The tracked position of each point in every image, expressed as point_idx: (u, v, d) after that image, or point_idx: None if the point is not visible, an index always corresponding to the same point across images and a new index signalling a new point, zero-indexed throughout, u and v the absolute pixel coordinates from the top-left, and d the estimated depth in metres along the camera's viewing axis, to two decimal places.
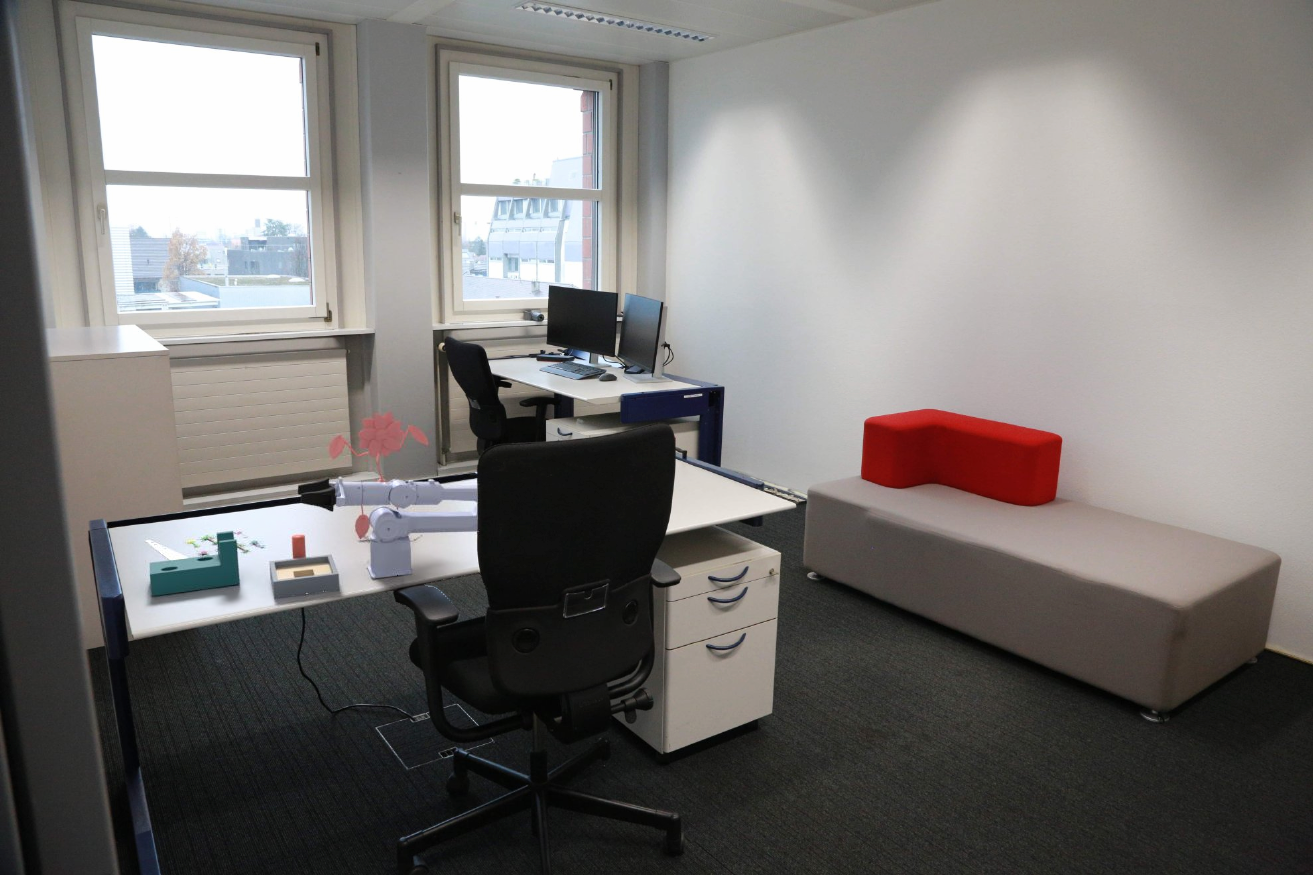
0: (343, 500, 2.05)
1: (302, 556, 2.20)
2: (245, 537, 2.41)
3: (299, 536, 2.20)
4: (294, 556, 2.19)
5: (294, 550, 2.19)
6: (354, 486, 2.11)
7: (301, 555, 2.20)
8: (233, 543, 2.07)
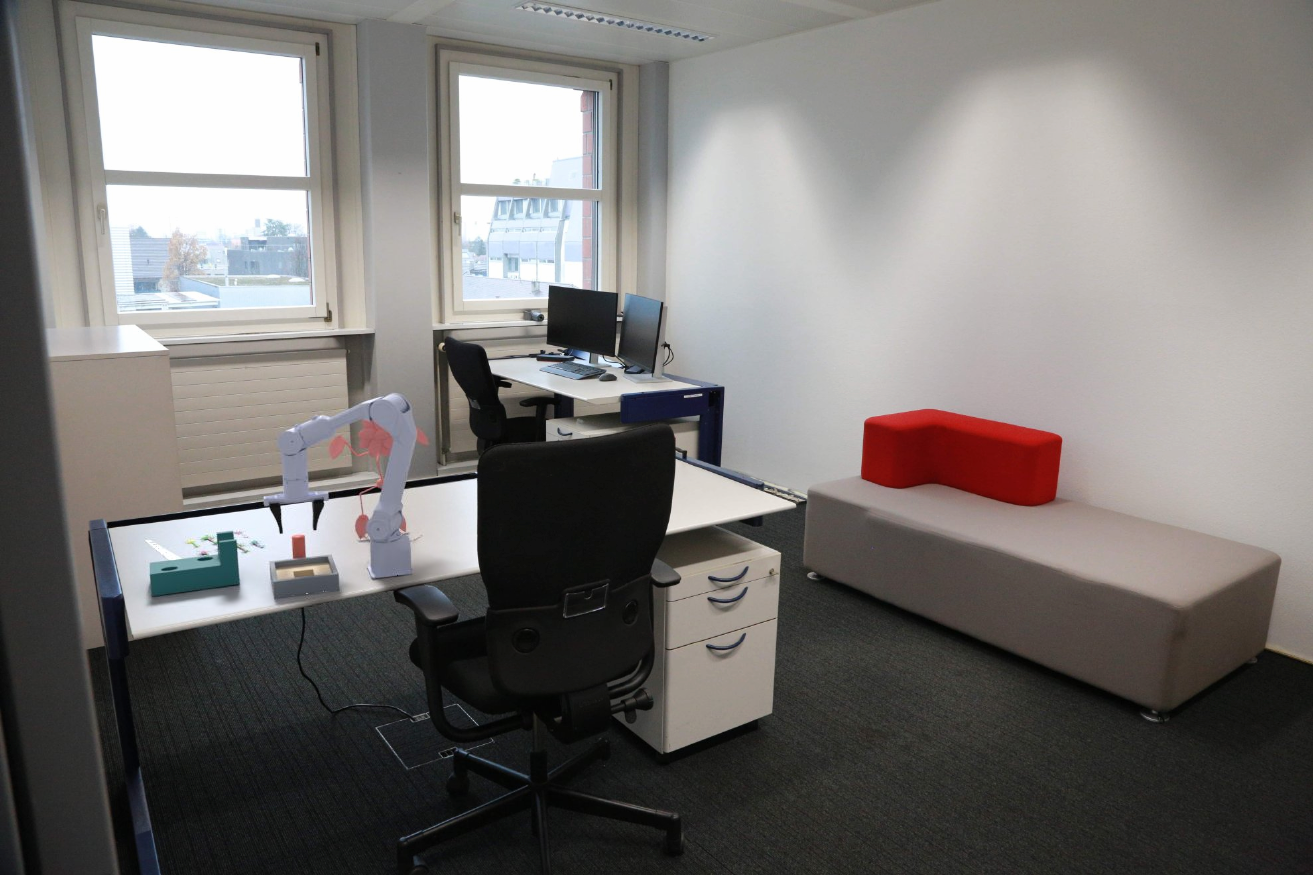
0: None
1: (302, 556, 2.20)
2: (245, 537, 2.41)
3: (299, 536, 2.20)
4: (294, 556, 2.19)
5: (294, 550, 2.19)
6: None
7: (301, 555, 2.20)
8: (233, 543, 2.07)
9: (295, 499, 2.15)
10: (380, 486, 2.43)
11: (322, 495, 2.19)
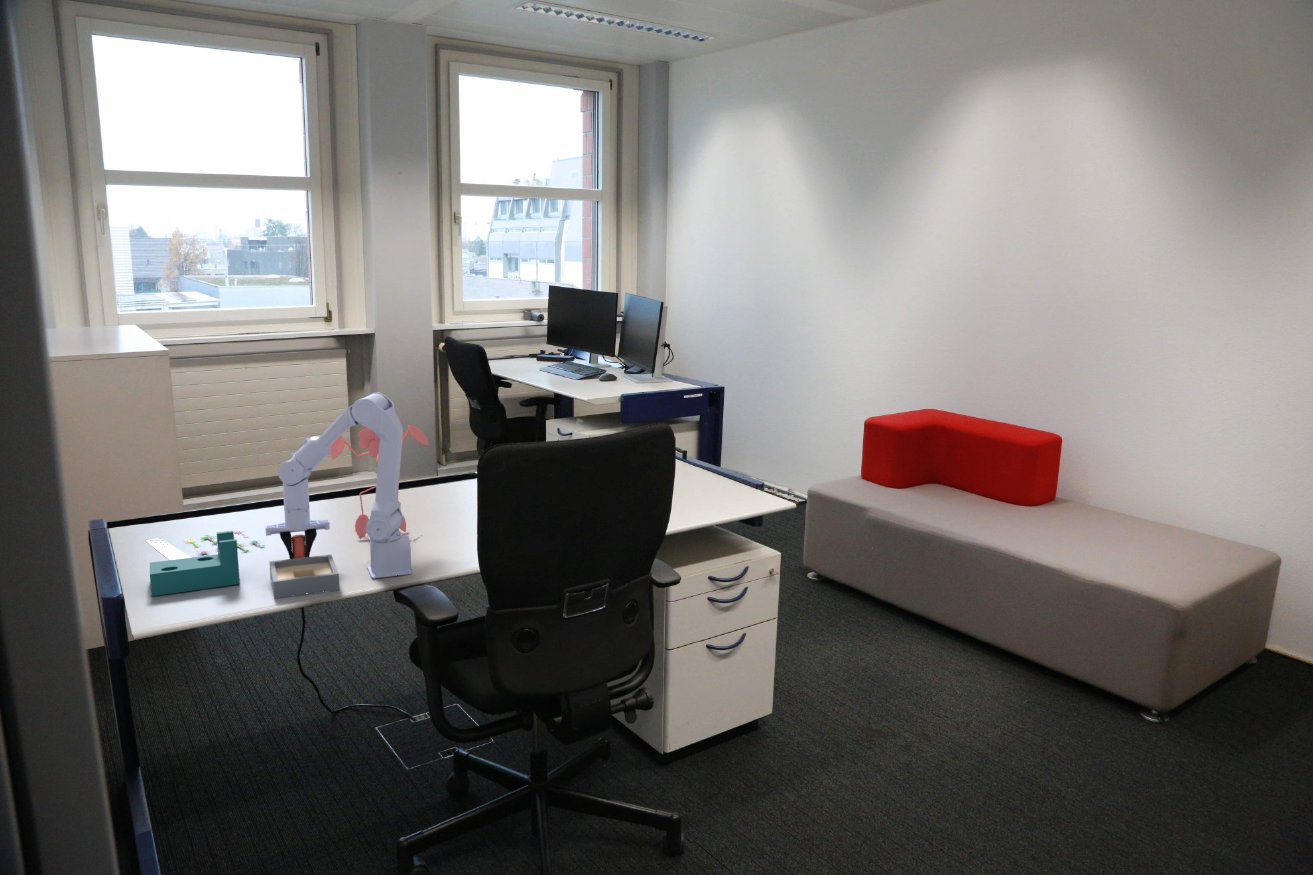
0: (265, 528, 2.16)
1: (302, 556, 2.20)
2: (245, 537, 2.41)
3: (298, 536, 2.20)
4: (294, 556, 2.19)
5: (294, 550, 2.19)
6: None
7: (301, 555, 2.20)
8: (233, 543, 2.07)
9: (296, 528, 2.16)
10: None
11: (323, 524, 2.21)
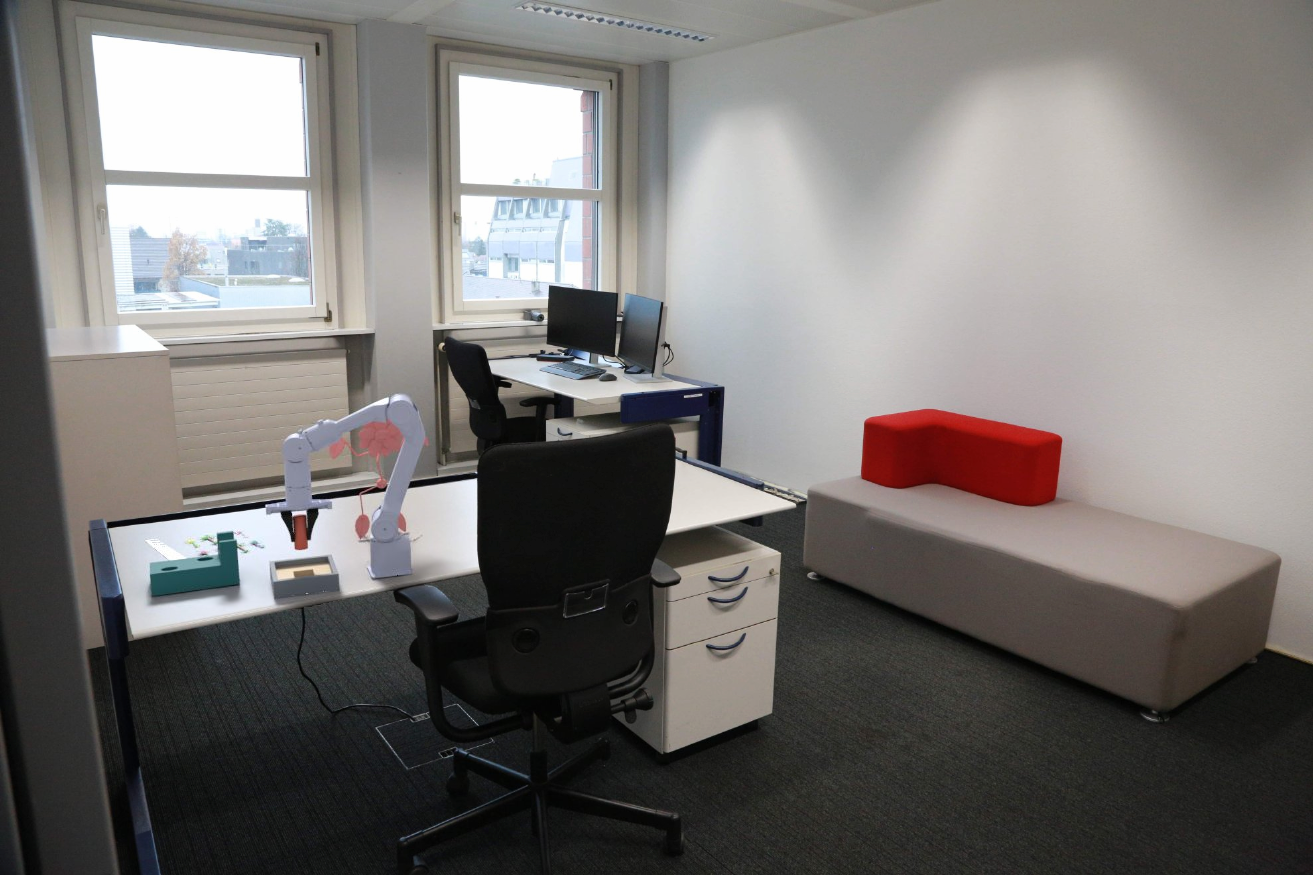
0: None
1: (303, 536, 2.12)
2: (245, 537, 2.41)
3: (300, 515, 2.12)
4: (295, 536, 2.12)
5: (295, 530, 2.11)
6: None
7: (303, 535, 2.12)
8: (233, 543, 2.07)
9: (298, 507, 2.08)
10: (380, 486, 2.43)
11: (325, 503, 2.13)
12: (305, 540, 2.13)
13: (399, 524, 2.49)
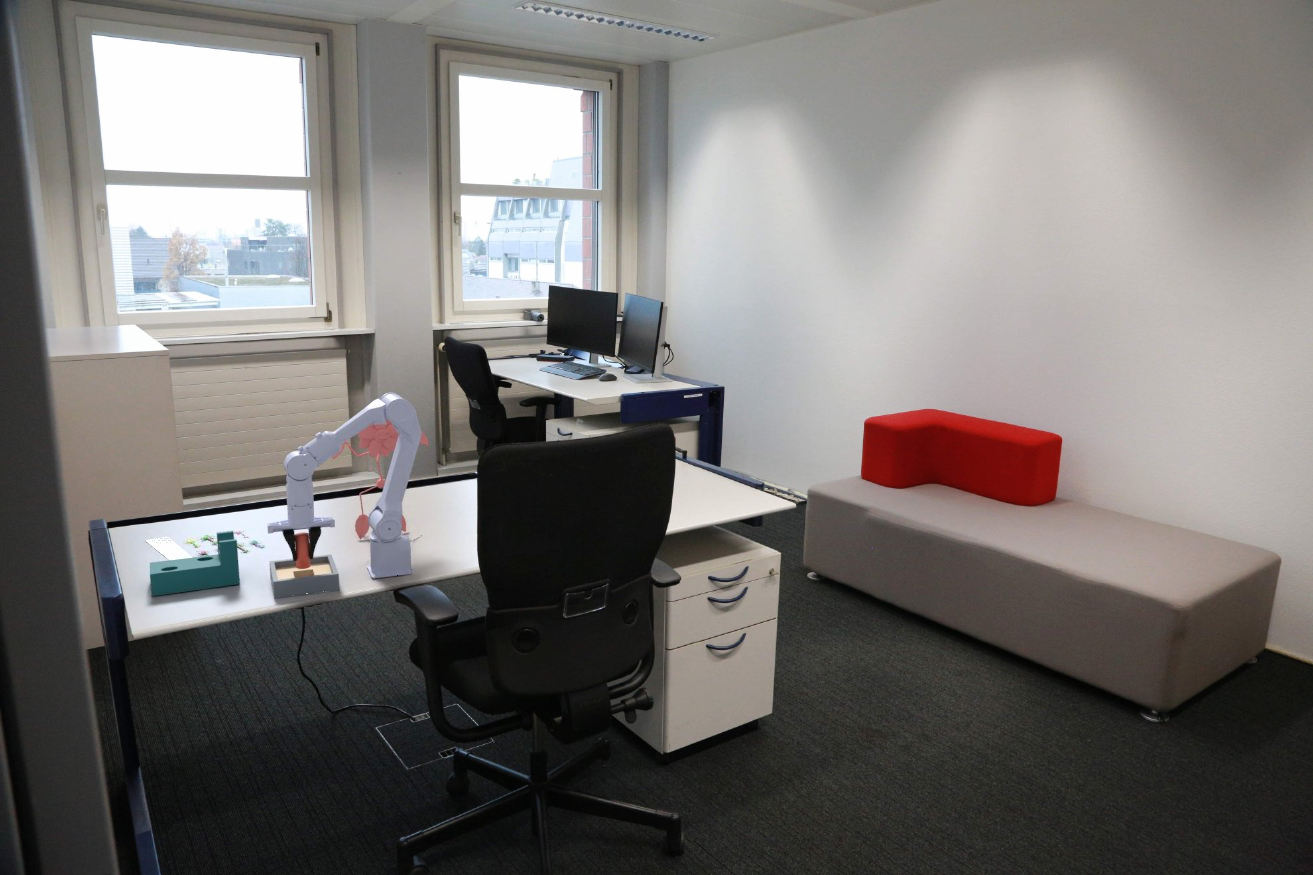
0: (267, 525, 2.05)
1: (306, 555, 2.09)
2: (245, 537, 2.41)
3: (302, 533, 2.09)
4: (297, 555, 2.09)
5: (297, 548, 2.08)
6: None
7: (305, 553, 2.09)
8: (233, 543, 2.07)
9: (300, 526, 2.05)
10: (380, 486, 2.43)
11: (328, 521, 2.10)
12: (307, 559, 2.10)
13: None
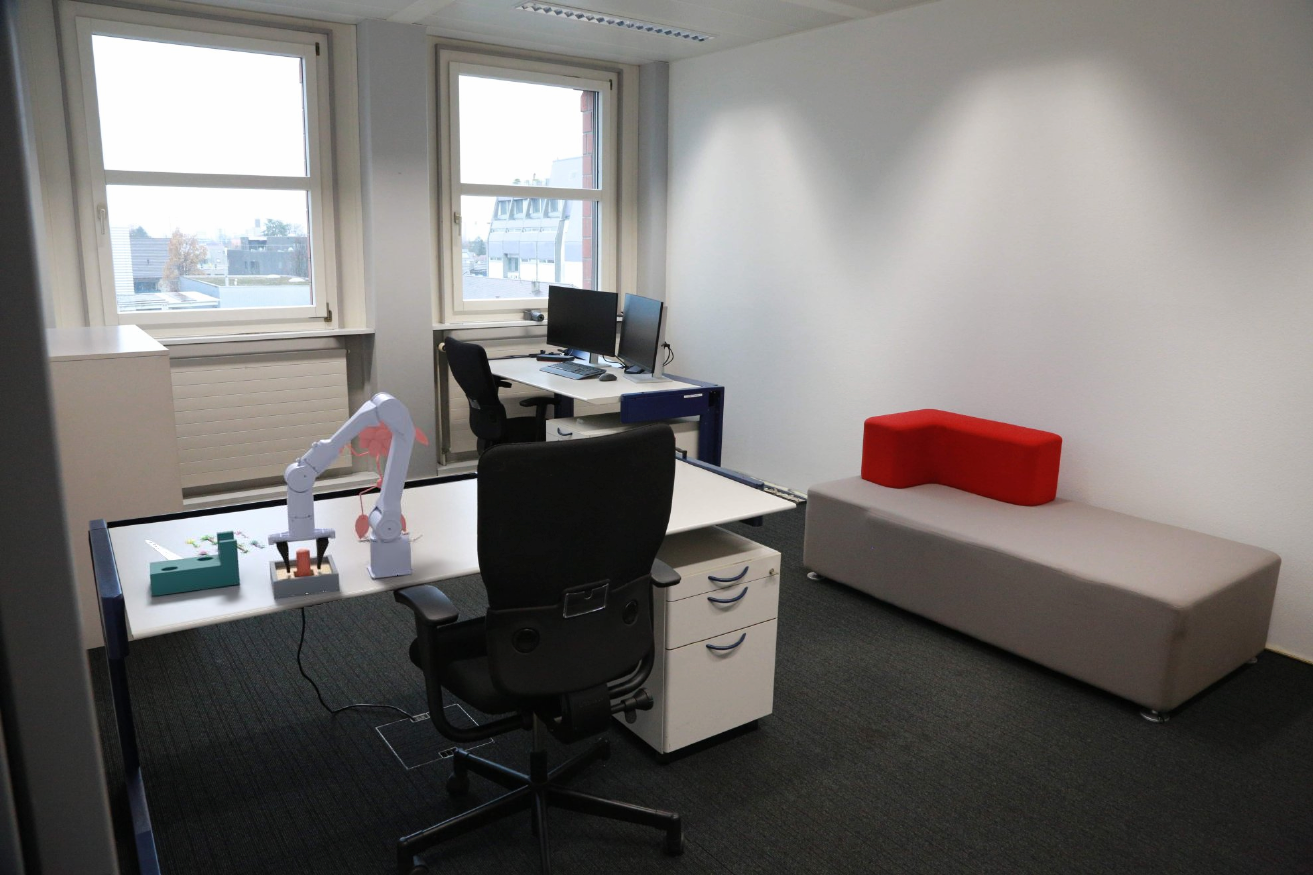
0: (268, 537, 2.06)
1: (307, 572, 2.10)
2: (245, 537, 2.41)
3: (303, 551, 2.10)
4: (298, 572, 2.09)
5: (299, 566, 2.09)
6: None
7: (306, 571, 2.10)
8: (233, 543, 2.07)
9: (301, 537, 2.06)
10: (380, 486, 2.43)
11: (329, 533, 2.10)
12: None
13: None
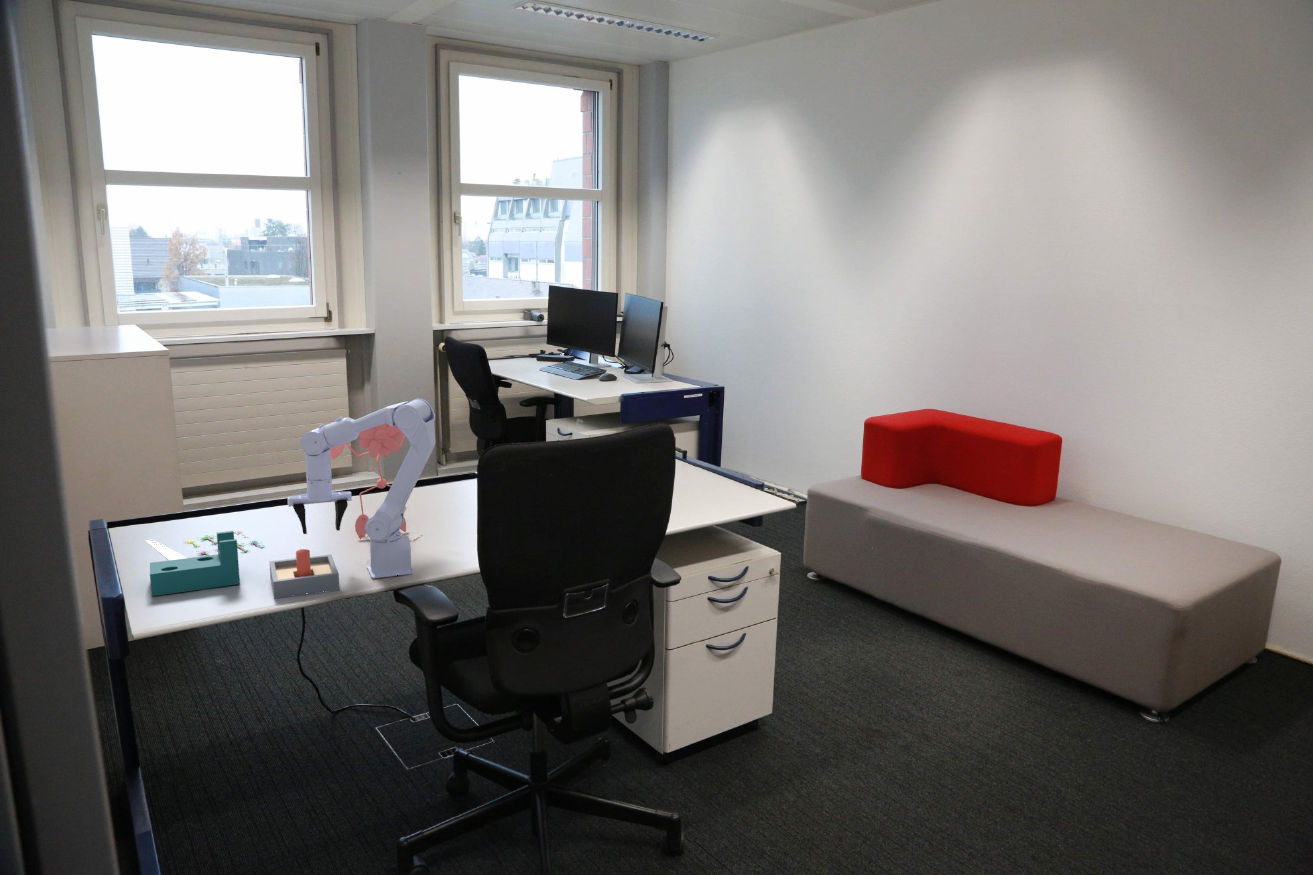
0: None
1: (307, 572, 2.10)
2: (245, 537, 2.41)
3: (303, 551, 2.10)
4: (298, 572, 2.09)
5: (298, 566, 2.09)
6: None
7: (306, 571, 2.10)
8: (233, 543, 2.07)
9: (319, 499, 2.15)
10: (380, 486, 2.43)
11: (345, 495, 2.20)
12: None
13: None
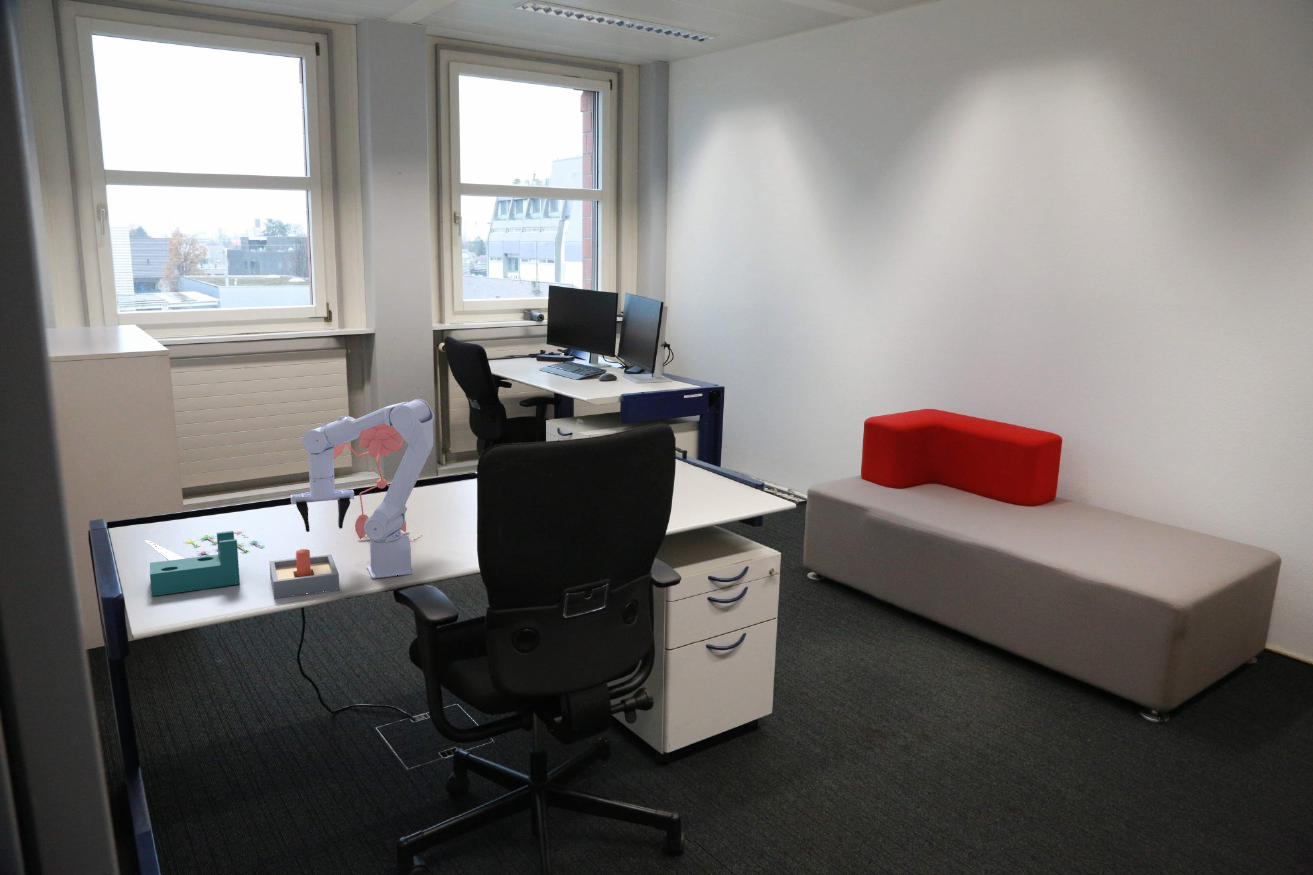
0: None
1: (307, 572, 2.10)
2: (245, 537, 2.41)
3: (303, 551, 2.10)
4: (298, 572, 2.09)
5: (299, 566, 2.09)
6: None
7: (306, 571, 2.10)
8: (233, 543, 2.07)
9: (322, 497, 2.17)
10: (380, 486, 2.43)
11: (348, 493, 2.21)
12: None
13: None
